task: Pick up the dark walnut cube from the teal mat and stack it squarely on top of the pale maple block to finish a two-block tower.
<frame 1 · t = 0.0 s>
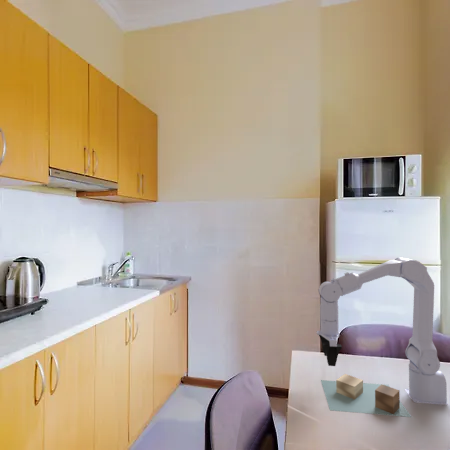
hand: (329, 360, 102), 10 cm above the table, tool pointing down, fingers open, 7 cm apart
maple block: (349, 392, 100), resting on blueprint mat
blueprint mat: (361, 397, 97), on the table
walnut cube: (387, 407, 91), resting on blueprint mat
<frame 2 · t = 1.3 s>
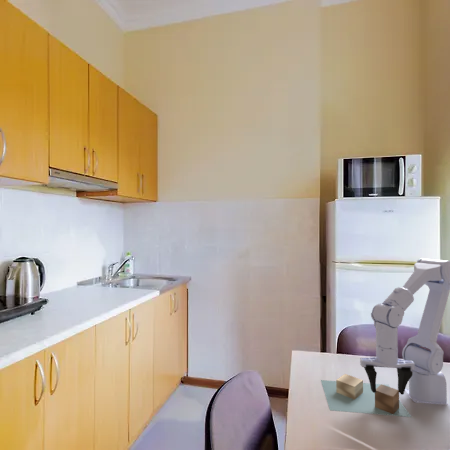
hand: (387, 391, 91), 5 cm above the table, tool pointing down, fingers open, 7 cm apart
walnut cube: (387, 407, 91), resting on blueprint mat, touching gripper
everything else where it was.
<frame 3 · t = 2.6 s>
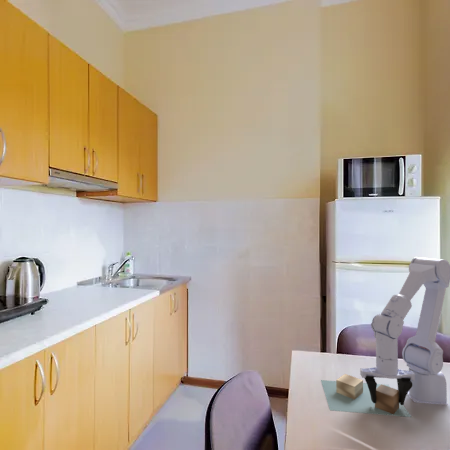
hand: (387, 402, 91), 2 cm above the table, tool pointing down, fingers closed on walnut cube, 7 cm apart
walnut cube: (387, 407, 91), resting on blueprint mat, touching gripper
everything else where it was.
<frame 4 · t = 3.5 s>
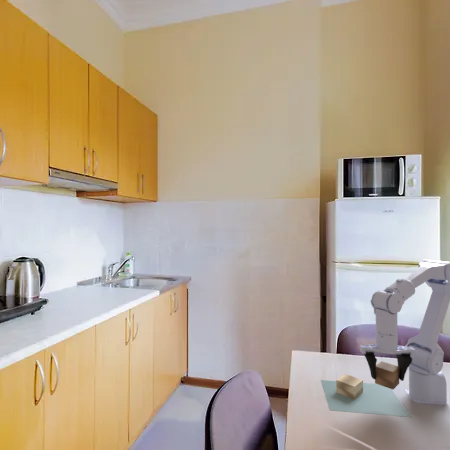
hand: (387, 378, 92), 9 cm above the table, tool pointing down, fingers closed on walnut cube, 7 cm apart
walnut cube: (387, 383, 92), point 7 cm above the table, touching gripper
everything else where it was.
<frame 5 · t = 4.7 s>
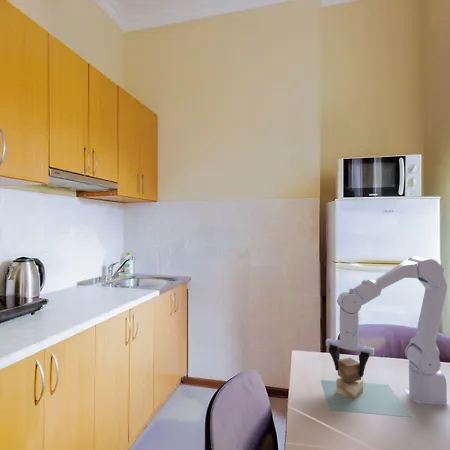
hand: (349, 372, 100), 7 cm above the table, tool pointing down, fingers closed on walnut cube, 7 cm apart
walnut cube: (349, 377, 100), point 5 cm above the table, touching gripper
everything else where it was.
when the fingers open (7 cm above the table, at t = 5.3 s): walnut cube stays where it is, resting on maple block.
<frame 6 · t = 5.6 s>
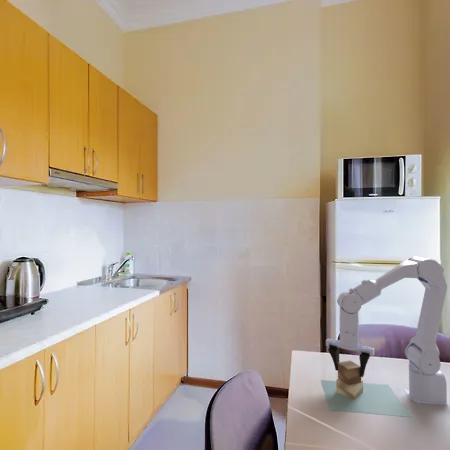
hand: (349, 372, 100), 7 cm above the table, tool pointing down, fingers open, 7 cm apart
maple block: (349, 392, 100), resting on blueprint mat, touching walnut cube
walnut cube: (349, 380, 100), point 4 cm above the table, touching gripper, maple block
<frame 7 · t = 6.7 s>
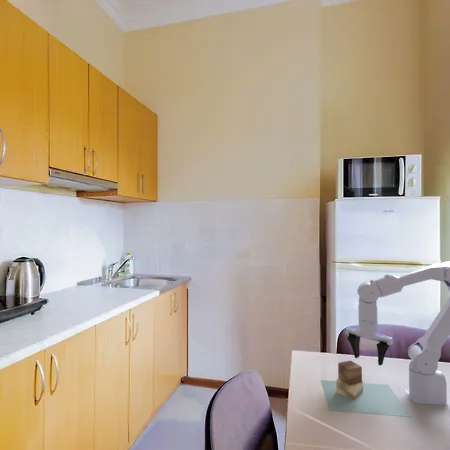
hand: (368, 360, 103), 9 cm above the table, tool pointing down, fingers open, 7 cm apart
walnut cube: (349, 380, 100), point 4 cm above the table, touching maple block
everything else where it was.
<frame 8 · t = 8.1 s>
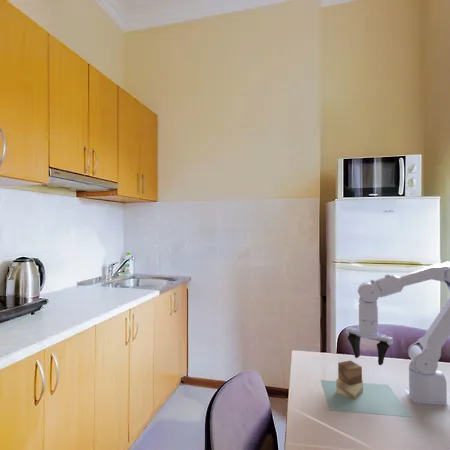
hand: (368, 360, 103), 9 cm above the table, tool pointing down, fingers open, 7 cm apart
nothing on the table moved.
at the end: walnut cube 0.2 cm off-centre on the maple block, point 4.0 cm above the maple block's base; walnut cube tilted 0°; walnut cube touching maple block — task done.
